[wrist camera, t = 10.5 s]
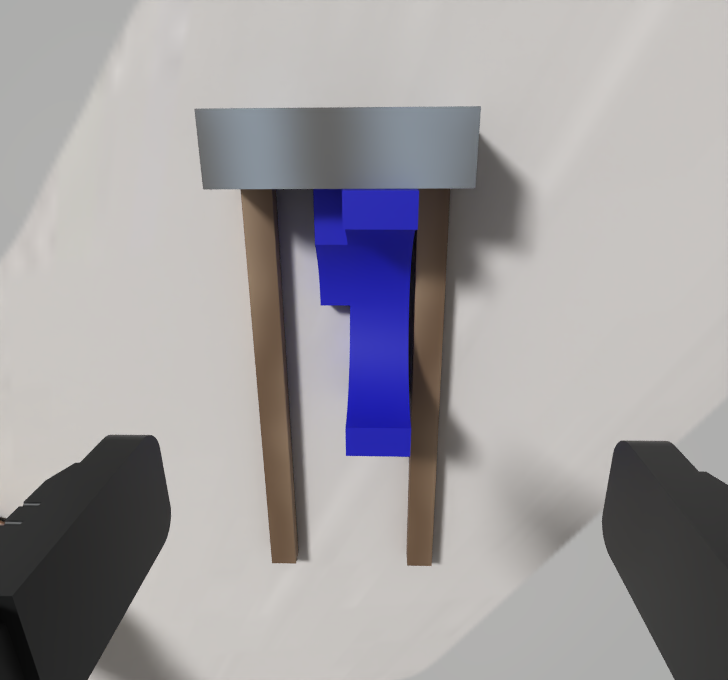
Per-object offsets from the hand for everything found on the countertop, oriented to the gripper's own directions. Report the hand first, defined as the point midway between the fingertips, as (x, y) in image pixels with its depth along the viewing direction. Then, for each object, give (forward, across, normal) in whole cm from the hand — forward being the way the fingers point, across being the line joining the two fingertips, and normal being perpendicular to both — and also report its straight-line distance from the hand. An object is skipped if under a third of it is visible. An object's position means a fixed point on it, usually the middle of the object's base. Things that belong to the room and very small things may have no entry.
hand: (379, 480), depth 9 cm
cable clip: (+20, +1, +2) cm, 20 cm away
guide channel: (+19, +2, +6) cm, 20 cm away
